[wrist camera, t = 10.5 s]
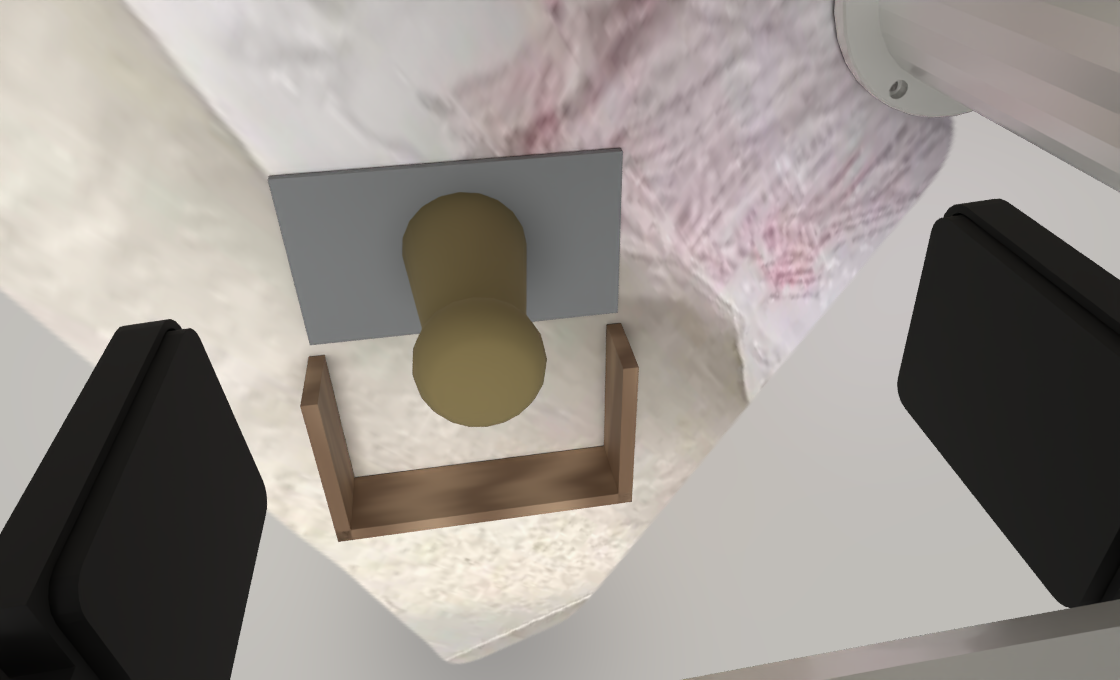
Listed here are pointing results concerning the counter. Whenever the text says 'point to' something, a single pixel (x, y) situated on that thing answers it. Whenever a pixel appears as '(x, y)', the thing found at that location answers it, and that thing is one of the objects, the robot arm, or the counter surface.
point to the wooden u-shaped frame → (475, 467)
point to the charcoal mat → (400, 191)
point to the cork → (472, 310)
